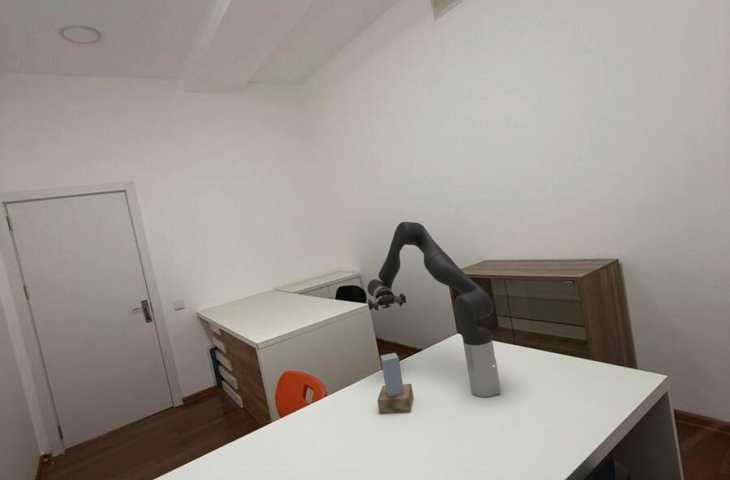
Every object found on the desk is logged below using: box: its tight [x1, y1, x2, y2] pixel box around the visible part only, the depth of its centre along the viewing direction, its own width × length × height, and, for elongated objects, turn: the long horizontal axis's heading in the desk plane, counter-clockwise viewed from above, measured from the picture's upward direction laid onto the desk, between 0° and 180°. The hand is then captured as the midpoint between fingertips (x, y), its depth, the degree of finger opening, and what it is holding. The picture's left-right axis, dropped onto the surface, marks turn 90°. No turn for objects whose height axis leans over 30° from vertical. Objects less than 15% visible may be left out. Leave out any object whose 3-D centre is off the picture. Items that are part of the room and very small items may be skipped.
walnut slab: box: [377, 383, 414, 415], centre depth 130 cm, size 10×10×5 cm
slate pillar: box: [380, 352, 404, 397], centre depth 129 cm, size 5×5×12 cm
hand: (389, 305), depth 141 cm, fingers open, 8 cm apart
